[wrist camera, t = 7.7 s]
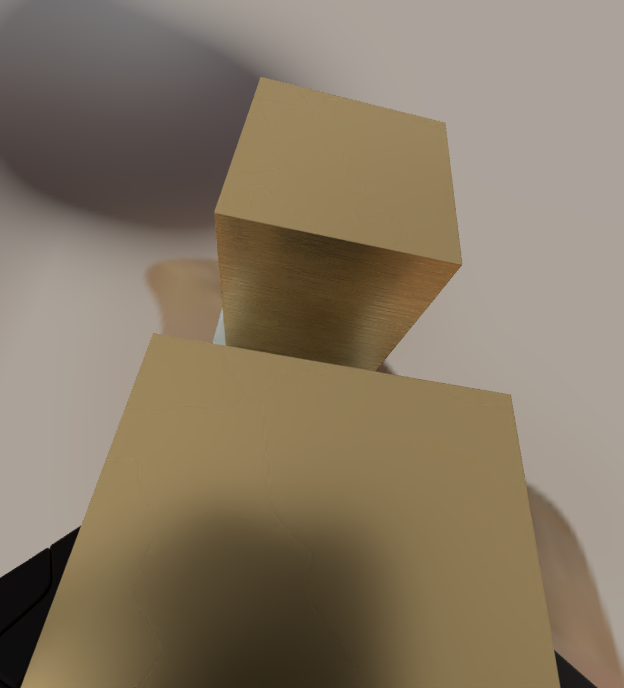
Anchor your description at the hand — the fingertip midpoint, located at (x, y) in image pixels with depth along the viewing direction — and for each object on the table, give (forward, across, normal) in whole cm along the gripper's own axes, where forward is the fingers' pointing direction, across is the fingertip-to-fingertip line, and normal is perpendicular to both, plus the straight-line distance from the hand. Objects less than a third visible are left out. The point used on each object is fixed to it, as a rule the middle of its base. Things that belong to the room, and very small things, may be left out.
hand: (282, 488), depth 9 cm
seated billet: (+9, 0, +2) cm, 9 cm away
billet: (+4, 0, +6) cm, 7 cm away
